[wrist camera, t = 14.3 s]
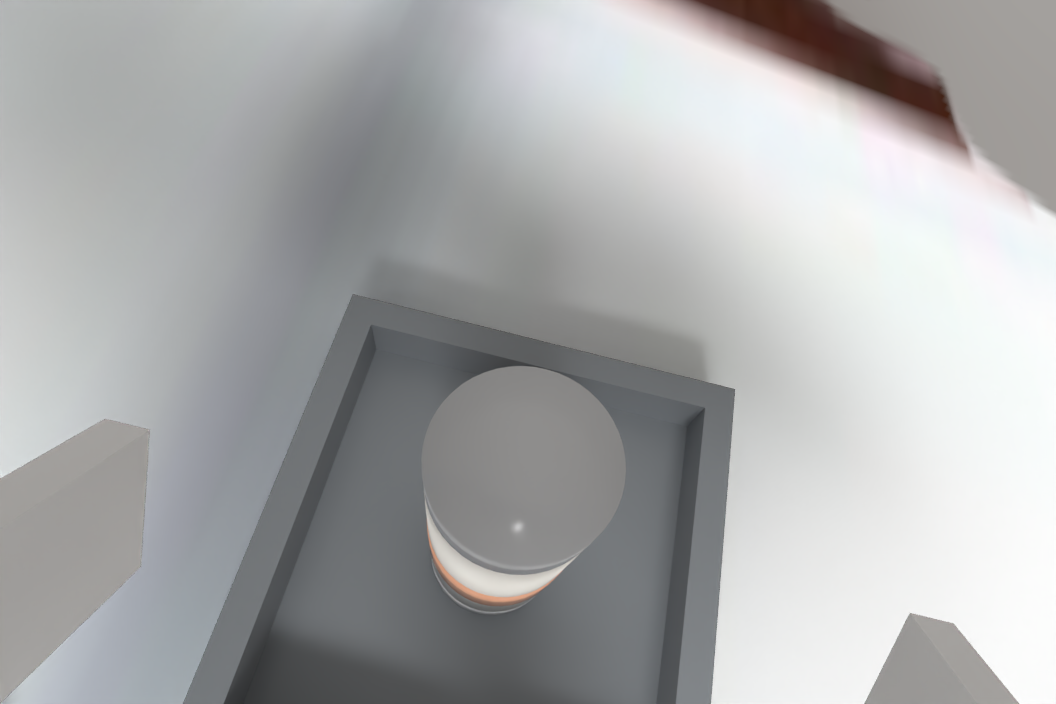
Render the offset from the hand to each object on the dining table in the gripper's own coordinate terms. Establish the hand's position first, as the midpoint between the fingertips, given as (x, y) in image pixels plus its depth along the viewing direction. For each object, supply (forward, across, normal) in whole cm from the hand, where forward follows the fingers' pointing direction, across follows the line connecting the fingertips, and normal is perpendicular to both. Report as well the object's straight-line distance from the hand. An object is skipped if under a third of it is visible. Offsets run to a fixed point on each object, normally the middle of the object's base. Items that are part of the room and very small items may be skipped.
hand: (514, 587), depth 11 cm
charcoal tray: (+10, 0, -6) cm, 11 cm away
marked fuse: (+9, 0, -6) cm, 11 cm away
